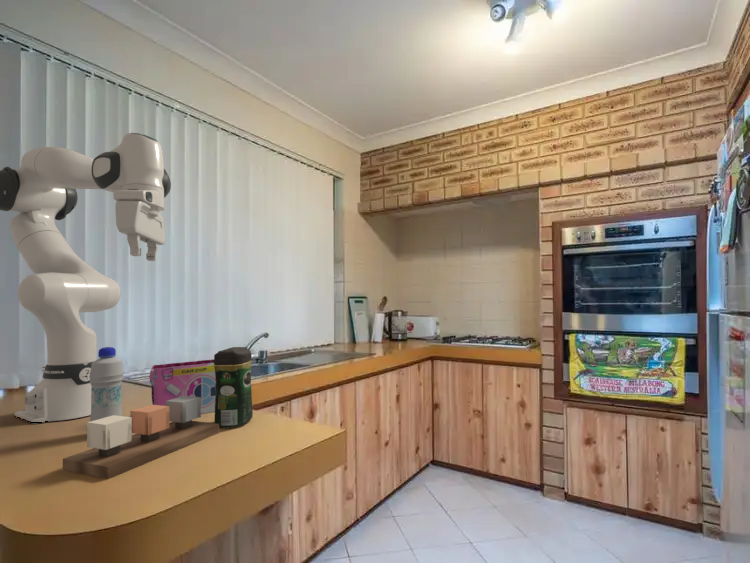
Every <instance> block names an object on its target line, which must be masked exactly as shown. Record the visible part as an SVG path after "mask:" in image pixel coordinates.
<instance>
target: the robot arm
mask: <svg viewBox="0 0 750 563" xmlns="http://www.w3.org/2000/svg"><path fill="white" fill-rule="evenodd" d="M163 153H164V152H163V148H162V146H161V143H160V142H159V141H158V140H157V139H155V138H154V137H151V136H149V135H146V134H142V133H141V134H140V133H138V132H130V133H129V132H128V133H125V135H124V136H123V137H122V140H121V142H120V144H118V146H116V147H115V148H113V149H112V150H110V151H106V152H102V153H100V154H98V155H96V157H94V158H93V157H89V156H87V155H85V154H83V153H80V152H78V151H75V150H72V149H68V148H65V147H60V146H41V147H36V148H33V149H31V150H27V152H25V153H24V155H22V158H21V161H20V167H19V168H16V169H13V168H11V167H10V166H5V167H3V168H2V169H1V170H0V211H2V212H3V211H4V212H9V211H10V212H18V213H17V214H16V215H14V216H13V217H12V218H11V220H10V223H9V230H10V234H11V237H12V239H13V241H14V244H15V246H16V248H17V250H18V252H19V253H20V255H21V257H22V258H23V259H24V262H25V263H26V264H27V266H28V268H29V269H30V270H31V271H32V272H33V273H34V274H33V273H32V274H29V275H27V276H26V277H25V278H24V279H22V280H21V282H20V284H19V285H18V287H17V299H18V302H19V304H20V305H21V306H22V307H23V308H24V309H25V310H26V311H28V312H30V313H31V314H32V315H33V316H35V317H36V319H37V320H38V321H39V323H40V324H41V326H42V327H43V330H44V332H45V336H46V346H47V347H46V350H47V364H46V365H45V366H42V367H41V368H42V370H41V372H43V373H42V379H41V381H39V382H38V383H37V384H36V385H35V386H34V387H33V388H32V389H31V390H29V392H28V393H27V394H26V396H24V398H23V399H24V400H23V402H24V404H25V409H23V410H19V411H16V412H14V414H15V415H17V416H20V417H22V418H24V419H26V420H29V421H31V422H42V423H46V422H45V421H48V422H57V421H65V420H66V421H68V420H73V419H79V418H83V417H88V416H91V383H90V377H89V376H90V371H91V364H92V362H94V361H96V360H98V358H97V357H98V353H97V352H98V349H97V348H98V336H97V333H96V332H95V330H93V329H92V328H90V327H88V326H86V325H85V324H84V323H83V320H82V319H81V316H80V313H97V312H102V311H106V310H109V309H113V308H115V307H116V305H117V304H118V303H119V301H120V298H121V288H120V285H119V284H118V282H117V281H116V280H115V279H113V278H111V277H108V276H107V275H104V274H103V273H101V272H99V271H98V270H96V269H95V268H93V266H91V265H89V264H88V263H87V262H85V261H84V260H83V259H82V258H80V256H79V255H78V254H77V253H75V251H74V250H73V248H71V247H72V246H70V244H69V243H68V241H67V240H66V238H65V237H64V236H63V234H62V233H61V231H60V230H59V229H58V228H57V225H56V222H55V220H56V221H61V220H64V219H65V218H66V217H67V215H70V213H72V212H73V211H74V209H75V208H76V206H77V204H78V197H79V196H78V191H77V190H83V189H84V190H104V191H107V192H111V193H113V199H114V200H115V210H114V211H115V224H116V228H117V231H118V232H119V233H121V234H123V235H126V239H127V240H126V241H127V243H128V247H129V255H130V256H133V257H141V256H142V248H141V247H140V246H141V245H140V241H141V242H144V243H146V247H147V253H146V254H145V255H146V257H145V258H146V260H147V261H149V262H155V261H156V259H157V253H158V249H159V246H164V245H165V242H166V228H165V219H164V217H163V216H162V215H161V214H160V212H163V211H164V210H165V198H166V197H167V196H168V195H169V193H170V191H171V187H172V183H171V179H170V176H169V173H168V172H167V171H166V169H165V166H164V165H165V164H164V154H163ZM14 414H13V415H14Z"/></svg>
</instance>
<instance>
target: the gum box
mask: <svg viewBox="0 0 750 563" xmlns="http://www.w3.org/2000/svg"><path fill="white" fill-rule="evenodd" d="M149 371H150V372H149V376H148V378H149V382H150V386H151V388H150V389H151V403H152V404H151V405H160V406H166V401H168V400H171V399H175V398H179V397H182V396H191V397H201V415H205V414H212V413H215V385H216V379H215V369H214V358H213V359H212V358H211V359H206V360H205V359H204V360H203V359H202V360H193V361H184V362H175V363H164V364H163V363H162V364H153V365H152V366H151V369H150V370H149Z"/></svg>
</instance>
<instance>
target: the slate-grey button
mask: <svg viewBox="0 0 750 563" xmlns="http://www.w3.org/2000/svg"><path fill="white" fill-rule="evenodd" d="M166 406H169V423H171V422H178V423H185V422H187V421H190V420H192V421H194V420H195V419H199V418H201V417H202V414H201V397H191V396H182V397H179V398H175V399H171V400H168V401H166Z"/></svg>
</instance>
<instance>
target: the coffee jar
mask: <svg viewBox="0 0 750 563" xmlns="http://www.w3.org/2000/svg"><path fill="white" fill-rule="evenodd" d="M213 357H214V358H213V359H214V369H215V379H216V385H215V412H214V422H213V423H217V424H219V428H222V429H231V428H236V427H242V426H245V425H247V423H248V422H250V421H251V419H252V418H253V415H254V412H253V411H254V409H253V395H252V394H253V393H252V352H251V350H250V349H248V348H247V347H245V346H232V347H228V348H226V349H221V350H218V351H217V353H215V354H214V355H213Z"/></svg>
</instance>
